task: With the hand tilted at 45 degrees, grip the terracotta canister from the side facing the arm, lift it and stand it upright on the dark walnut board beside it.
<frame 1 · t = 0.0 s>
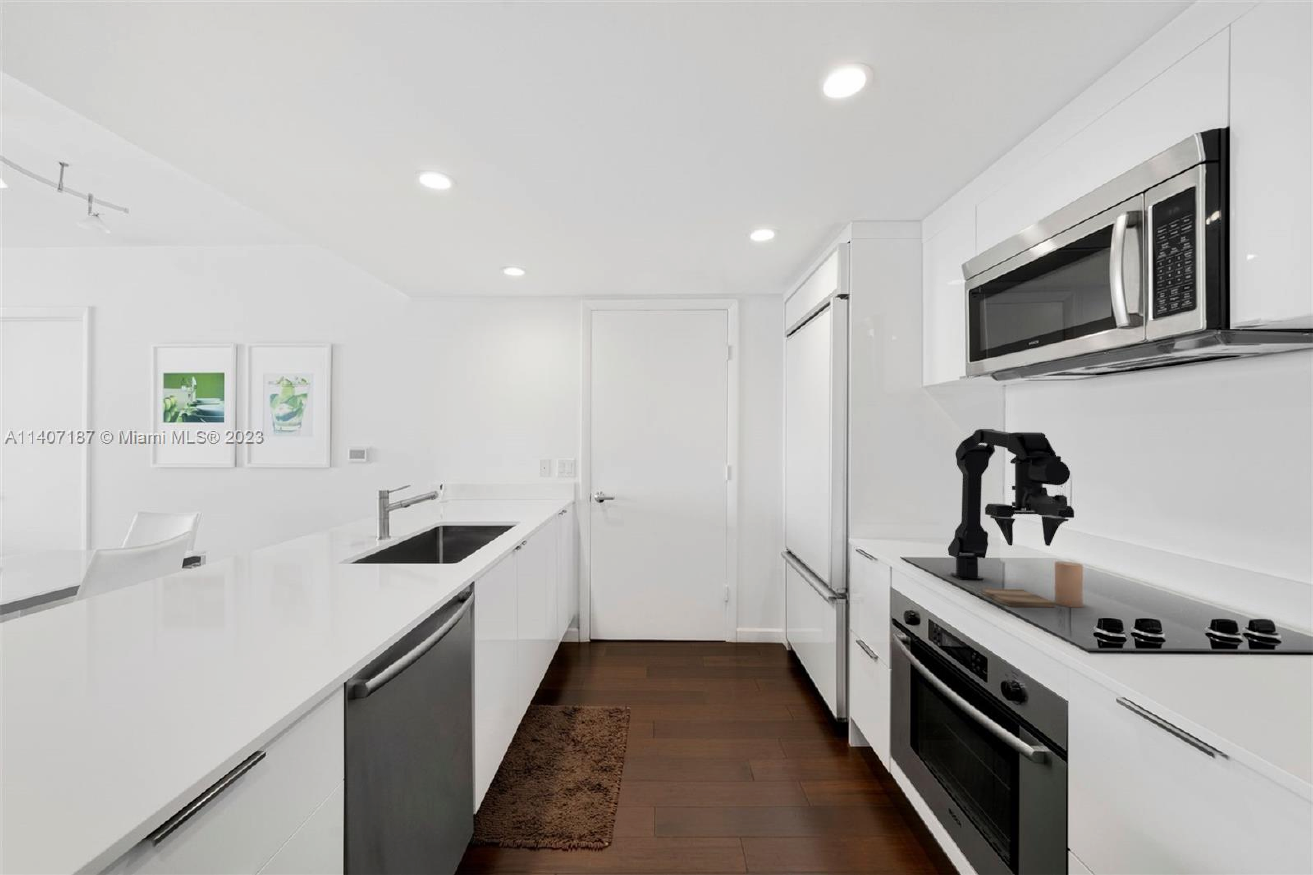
hand: (1028, 545, 138), 14 cm above the worktop, tool pointing down, fingers open, 9 cm apart
terracotta canister: (1068, 604, 138), on the worktop
walnut board: (1016, 600, 141), on the worktop
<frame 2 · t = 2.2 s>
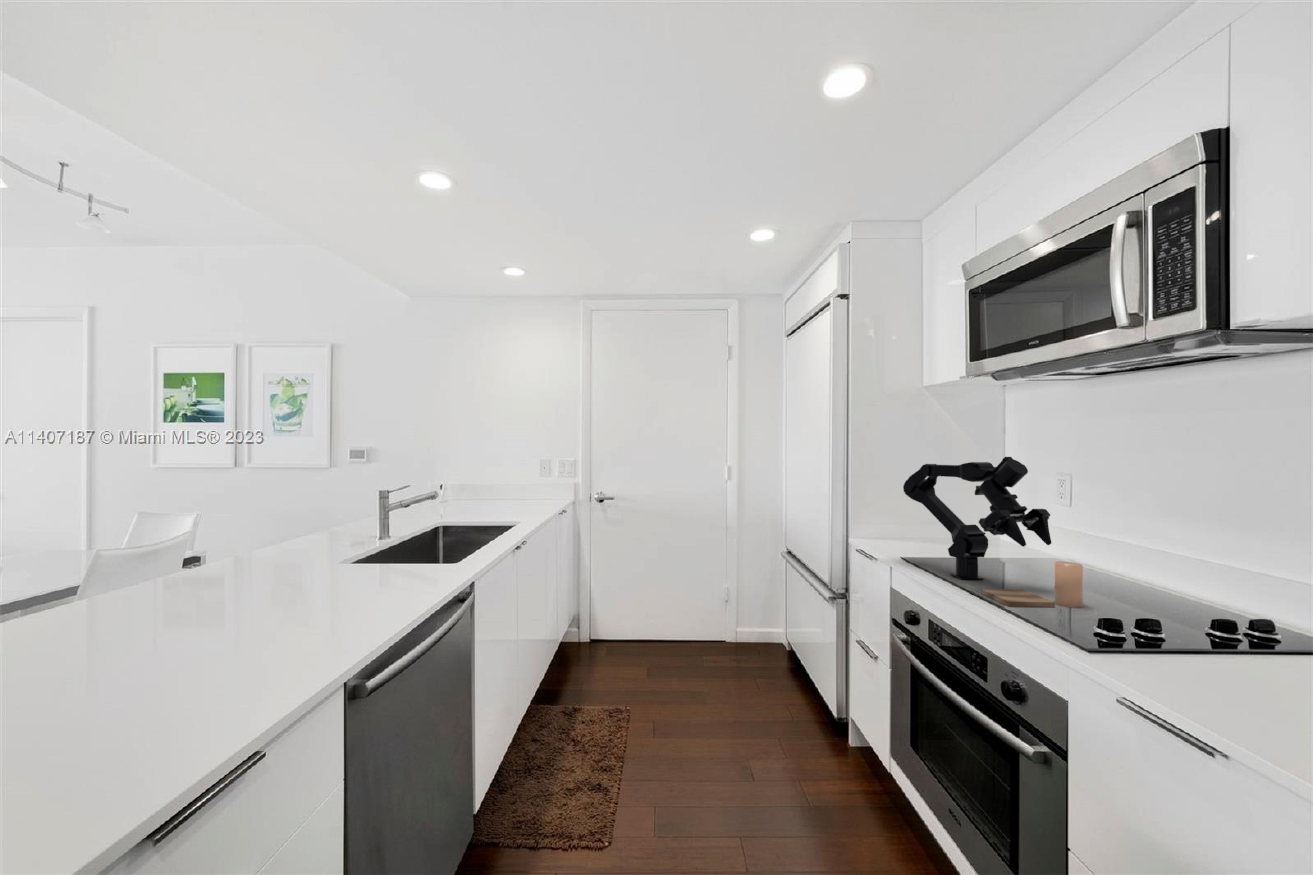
hand: (1037, 545, 145), 13 cm above the worktop, tool tilted 45°, fingers open, 9 cm apart
nothing on the worktop moved.
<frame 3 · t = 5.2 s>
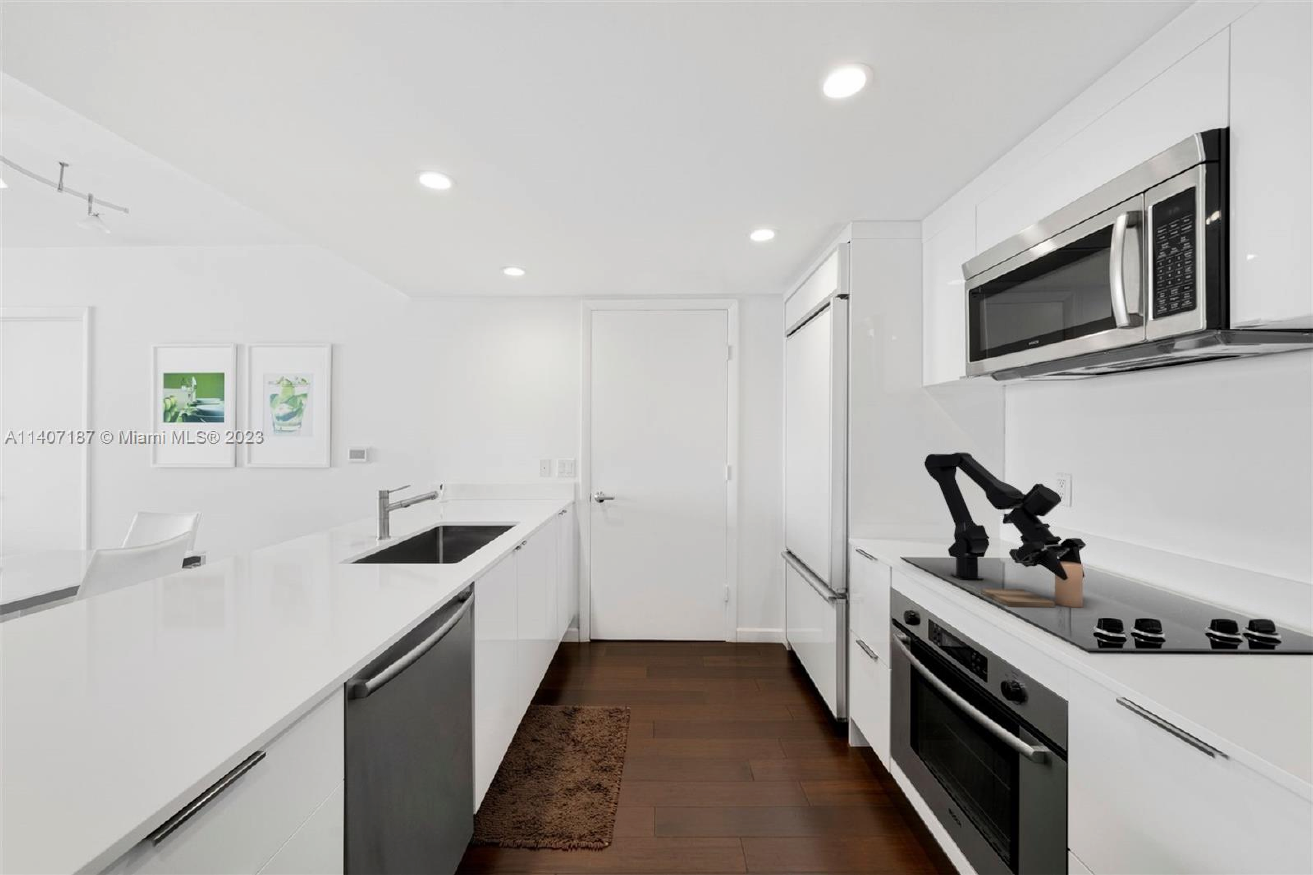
hand: (1074, 578, 137), 7 cm above the worktop, tool tilted 45°, fingers closed on terracotta canister, 6 cm apart
terracotta canister: (1068, 604, 138), on the worktop, touching gripper
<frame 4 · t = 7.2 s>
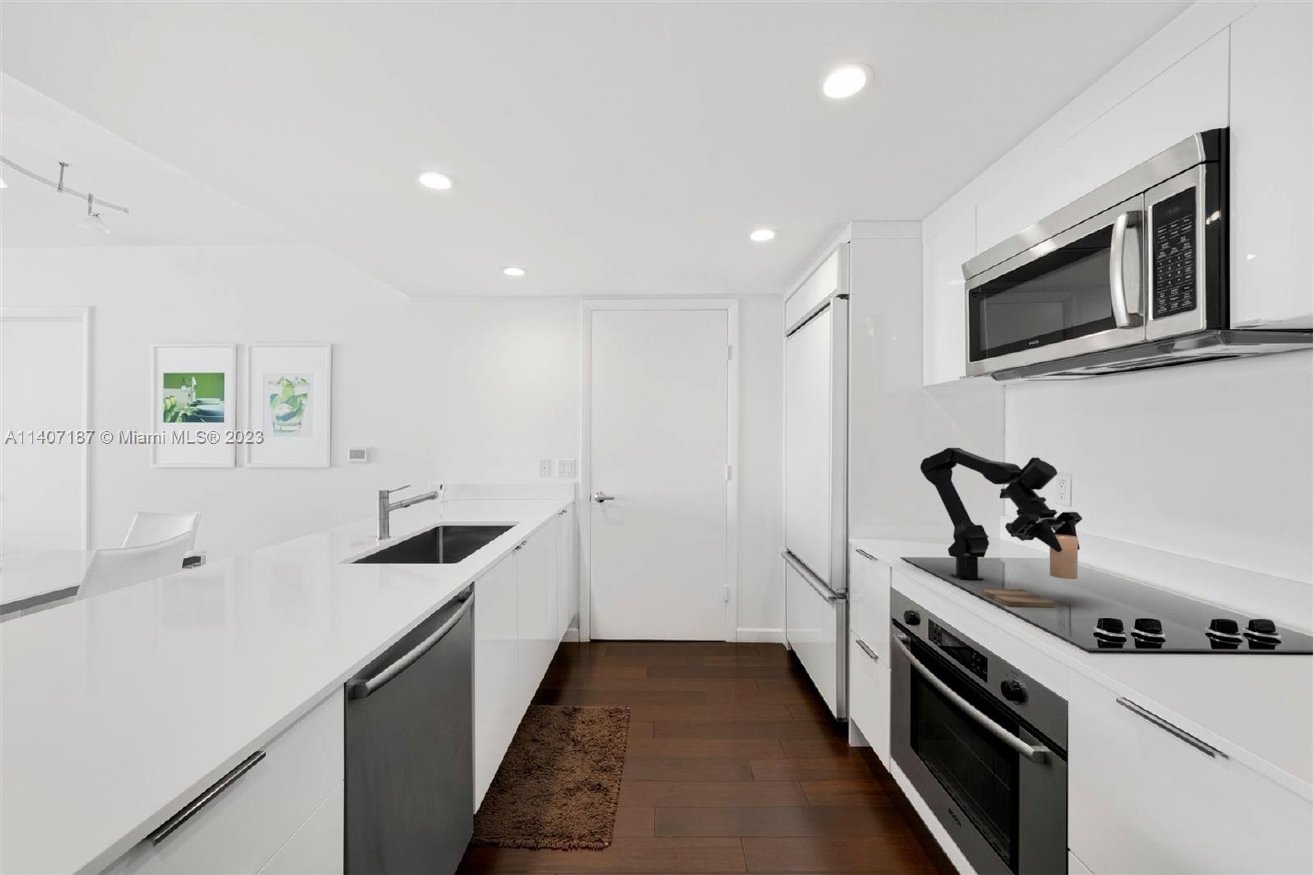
hand: (1069, 550, 137), 13 cm above the worktop, tool tilted 45°, fingers closed on terracotta canister, 6 cm apart
terracotta canister: (1063, 576, 138), point 7 cm above the worktop, touching gripper
when the fingers open (9 cm above the worktop, at t = 9.4 s): terracotta canister drops 2 cm, resting on walnut board.
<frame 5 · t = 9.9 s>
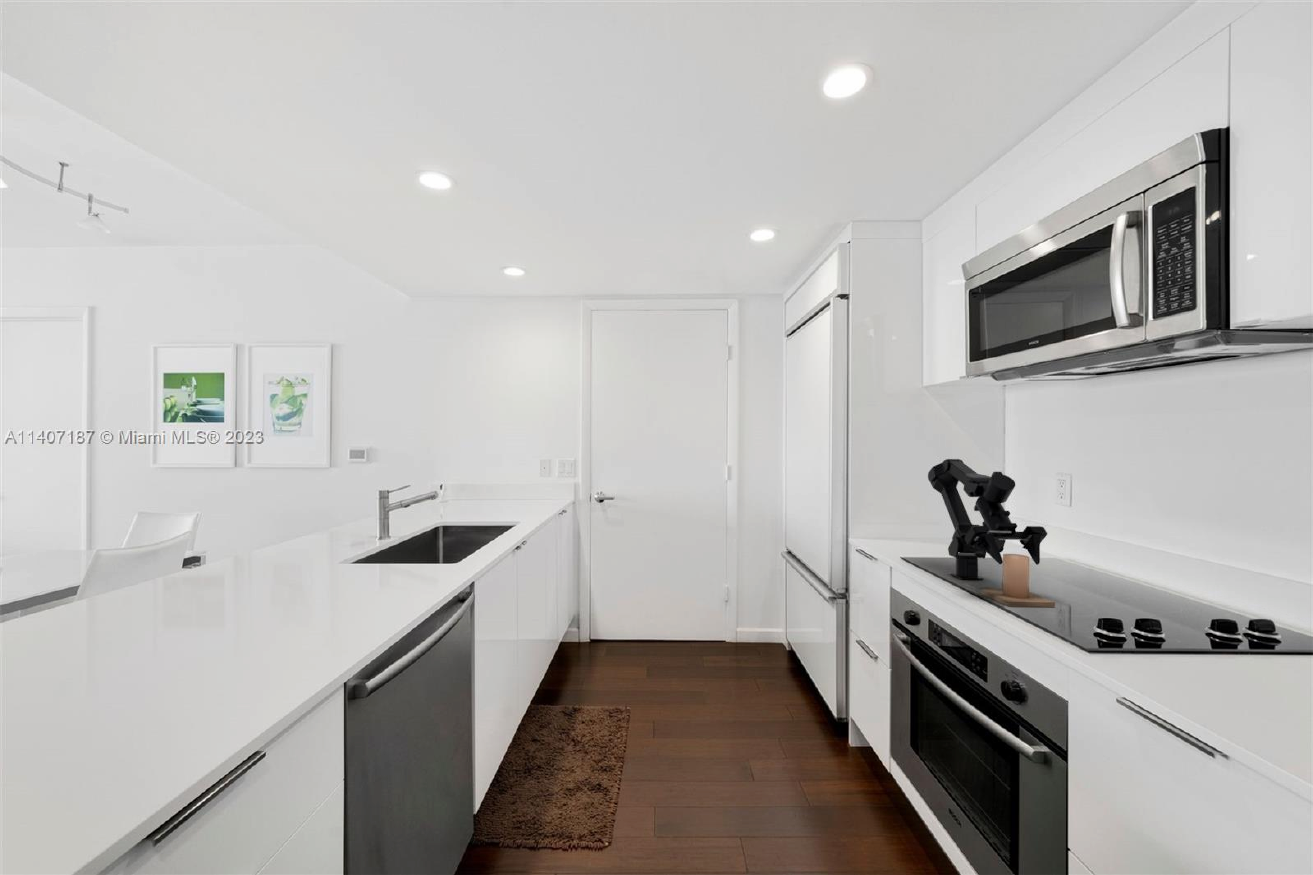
hand: (1019, 563, 140), 10 cm above the worktop, tool tilted 45°, fingers open, 9 cm apart
terracotta canister: (1016, 595, 141), point 1 cm above the worktop, touching walnut board
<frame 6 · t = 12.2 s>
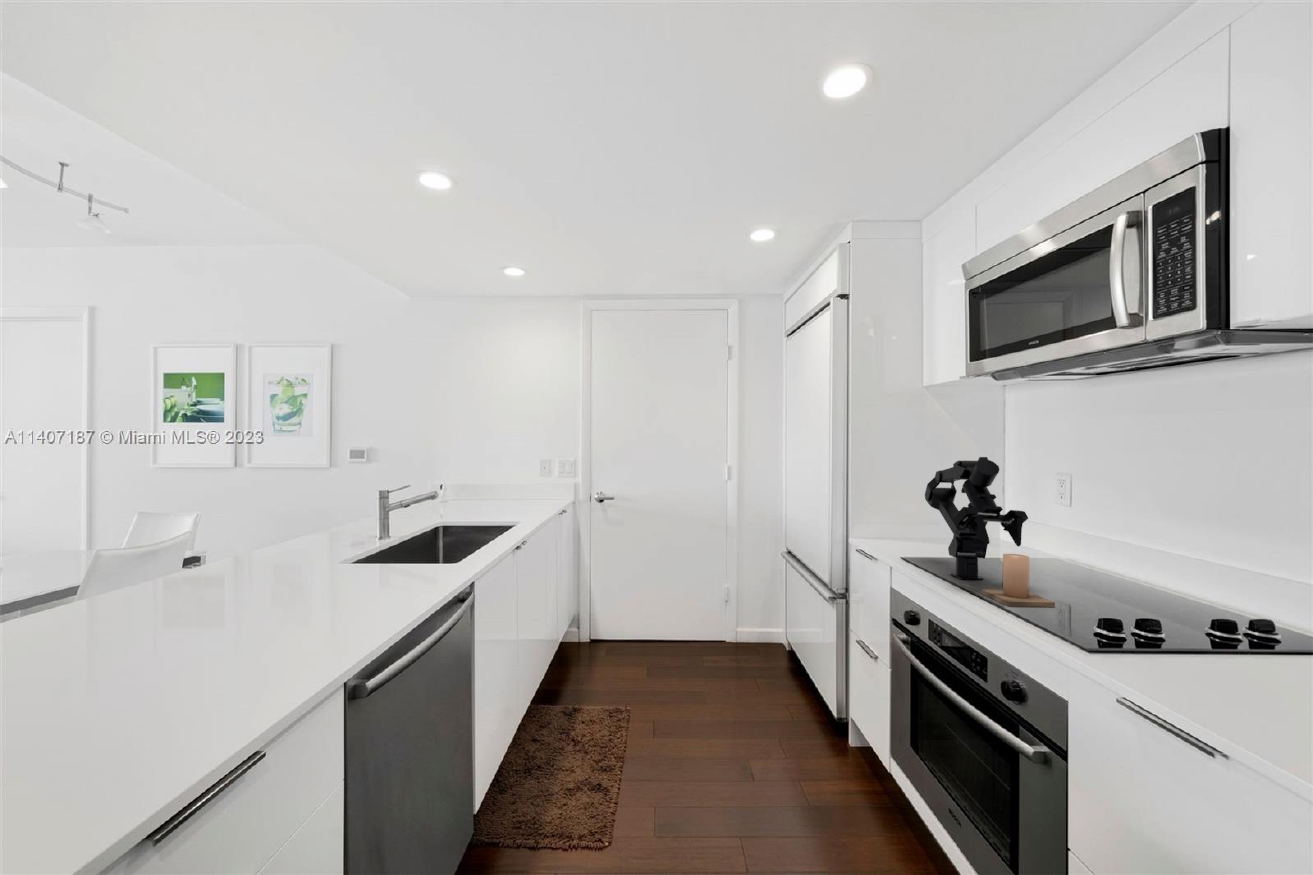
hand: (1003, 544, 148), 13 cm above the worktop, tool tilted 40°, fingers open, 9 cm apart
nothing on the worktop moved.
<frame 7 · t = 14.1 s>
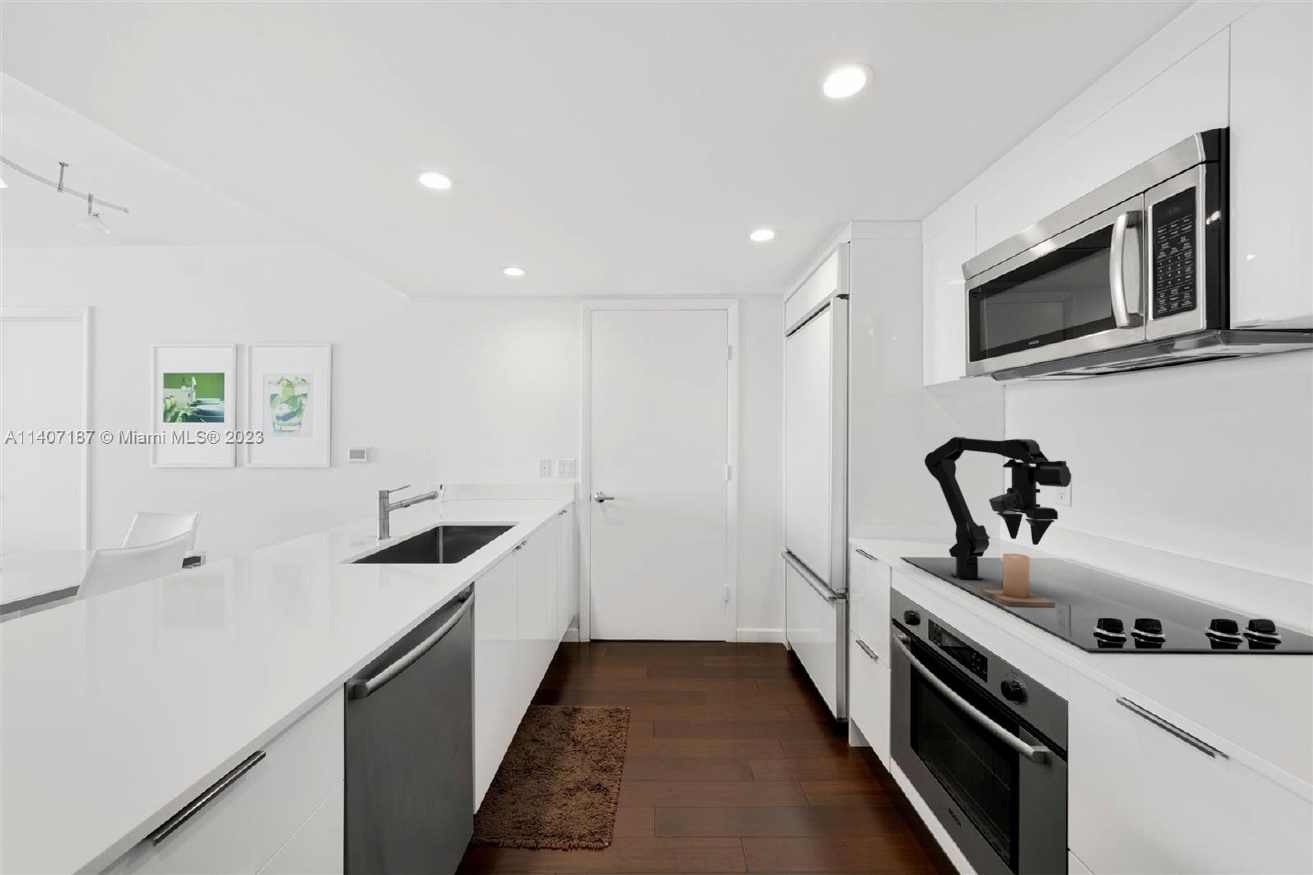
hand: (1024, 541, 152), 13 cm above the worktop, tool pointing down, fingers open, 9 cm apart
nothing on the worktop moved.
at the end: terracotta canister inside the target area on the walnut board (0.1 cm from its centre), point 1.2 cm above the walnut board's base; terracotta canister tilted 1°; the gripper is holding nothing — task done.
